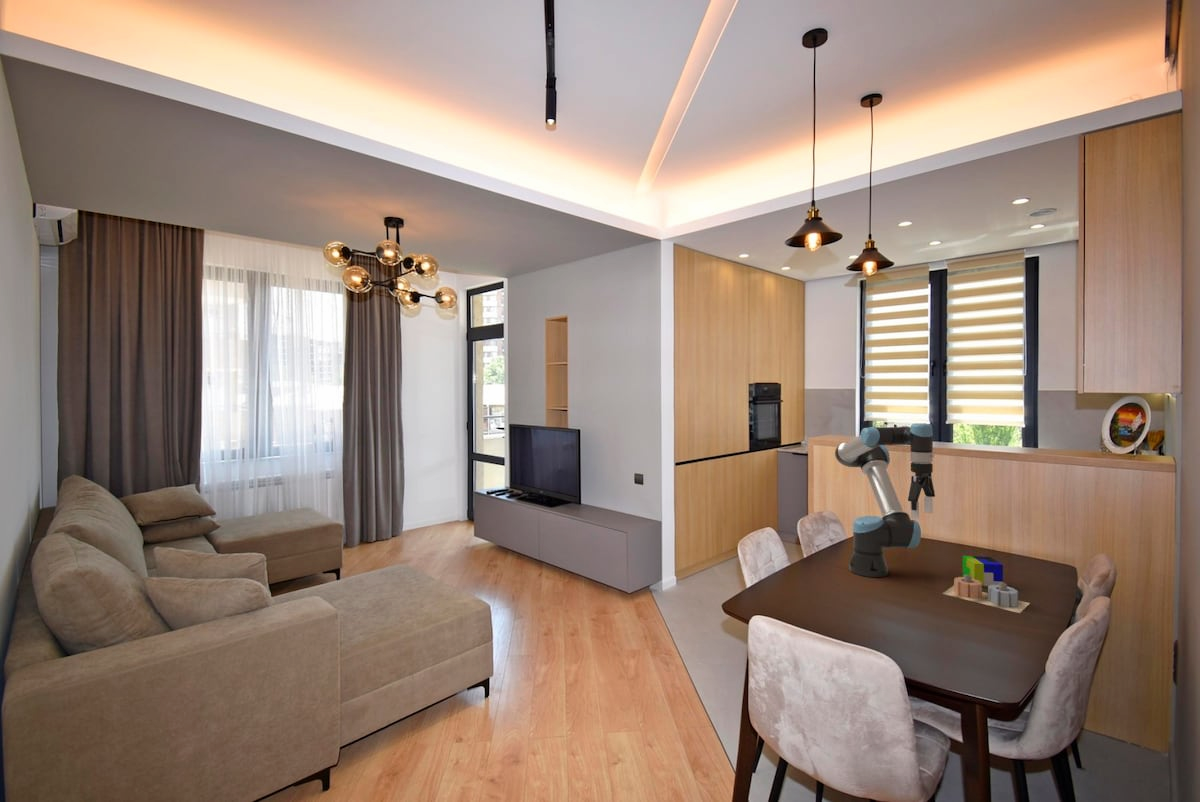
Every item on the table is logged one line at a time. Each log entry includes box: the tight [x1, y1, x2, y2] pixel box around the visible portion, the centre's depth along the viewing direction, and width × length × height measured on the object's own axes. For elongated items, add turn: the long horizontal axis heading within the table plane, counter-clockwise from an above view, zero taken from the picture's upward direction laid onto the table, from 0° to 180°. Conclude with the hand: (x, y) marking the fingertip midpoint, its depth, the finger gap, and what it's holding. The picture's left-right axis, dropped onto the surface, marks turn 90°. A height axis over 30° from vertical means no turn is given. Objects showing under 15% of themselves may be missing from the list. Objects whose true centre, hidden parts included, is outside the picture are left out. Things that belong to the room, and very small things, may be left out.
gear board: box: [941, 575, 1031, 614], centre depth 200 cm, size 24×13×8 cm, turn 39°
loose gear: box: [953, 576, 983, 598], centre depth 204 cm, size 8×8×5 cm
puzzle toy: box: [962, 555, 1004, 587], centre depth 216 cm, size 10×10×10 cm
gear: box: [987, 585, 1019, 607], centre depth 196 cm, size 8×8×5 cm
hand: (921, 515), depth 215 cm, fingers open, 13 cm apart
